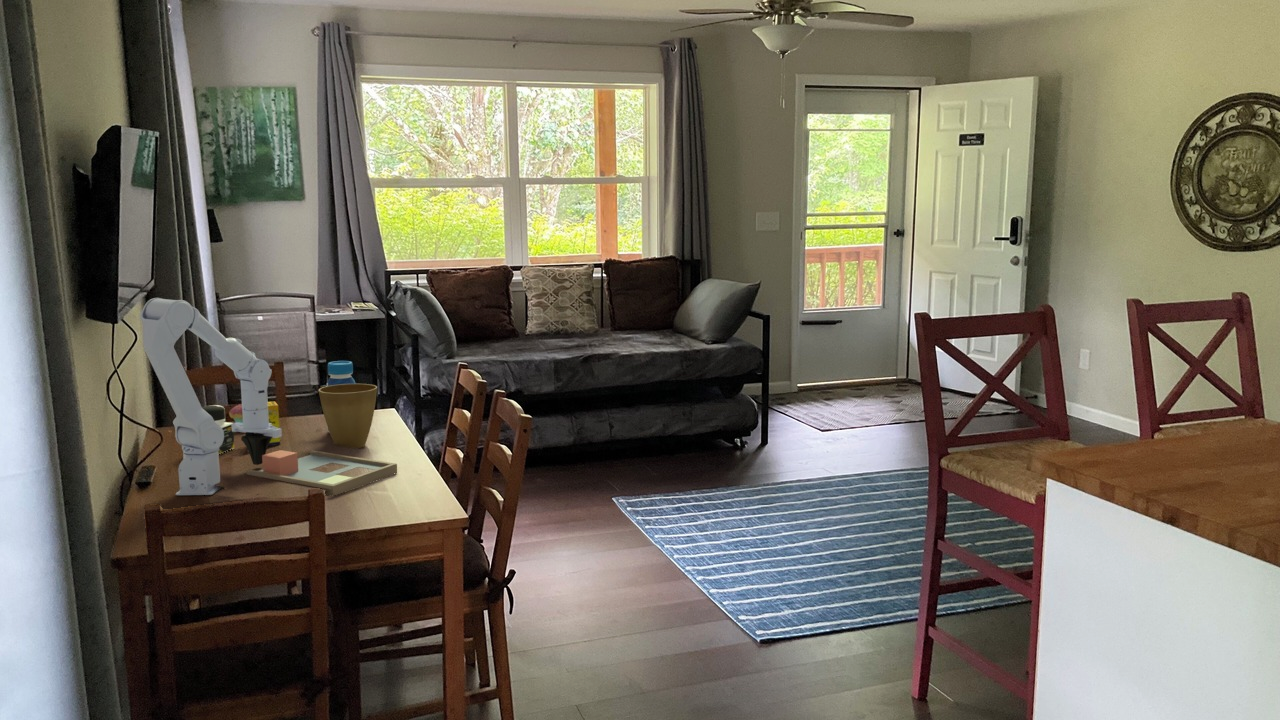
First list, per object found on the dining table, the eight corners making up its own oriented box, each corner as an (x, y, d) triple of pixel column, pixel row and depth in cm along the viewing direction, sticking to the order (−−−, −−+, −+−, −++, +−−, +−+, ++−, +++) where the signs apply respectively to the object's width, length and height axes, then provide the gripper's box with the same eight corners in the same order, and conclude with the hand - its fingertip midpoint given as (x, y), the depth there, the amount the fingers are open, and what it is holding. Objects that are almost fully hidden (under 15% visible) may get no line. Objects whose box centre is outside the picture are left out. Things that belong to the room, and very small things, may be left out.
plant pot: (390, 444, 259) (388, 386, 256) (347, 456, 246) (344, 395, 244) (353, 437, 266) (350, 380, 264) (309, 448, 254) (306, 389, 251)
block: (263, 474, 224) (262, 455, 223) (281, 468, 229) (280, 450, 228) (280, 477, 222) (279, 458, 221) (298, 471, 227) (297, 452, 226)
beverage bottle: (362, 428, 277) (359, 360, 274) (352, 435, 268) (349, 365, 265) (333, 428, 277) (330, 359, 274) (323, 435, 269) (319, 364, 266)
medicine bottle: (218, 455, 246) (215, 409, 244) (193, 454, 248) (190, 408, 246) (235, 448, 253) (232, 404, 251) (211, 447, 254) (208, 403, 253)
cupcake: (268, 427, 278) (266, 386, 276) (242, 432, 271) (240, 391, 269) (249, 423, 282) (247, 383, 280) (223, 429, 275) (221, 388, 273)
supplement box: (280, 444, 258) (278, 404, 256) (257, 447, 255) (254, 407, 253) (277, 440, 263) (275, 400, 261) (254, 442, 260) (251, 403, 258)
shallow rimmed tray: (246, 480, 224) (246, 470, 224) (313, 459, 243) (313, 450, 242) (333, 496, 212) (333, 486, 212) (397, 473, 231) (396, 463, 231)
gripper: (290, 408, 228) (293, 463, 230) (246, 402, 234) (250, 456, 236) (267, 413, 221) (270, 470, 223) (222, 407, 228) (226, 462, 230)
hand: (258, 463), depth 229 cm, fingers closed
